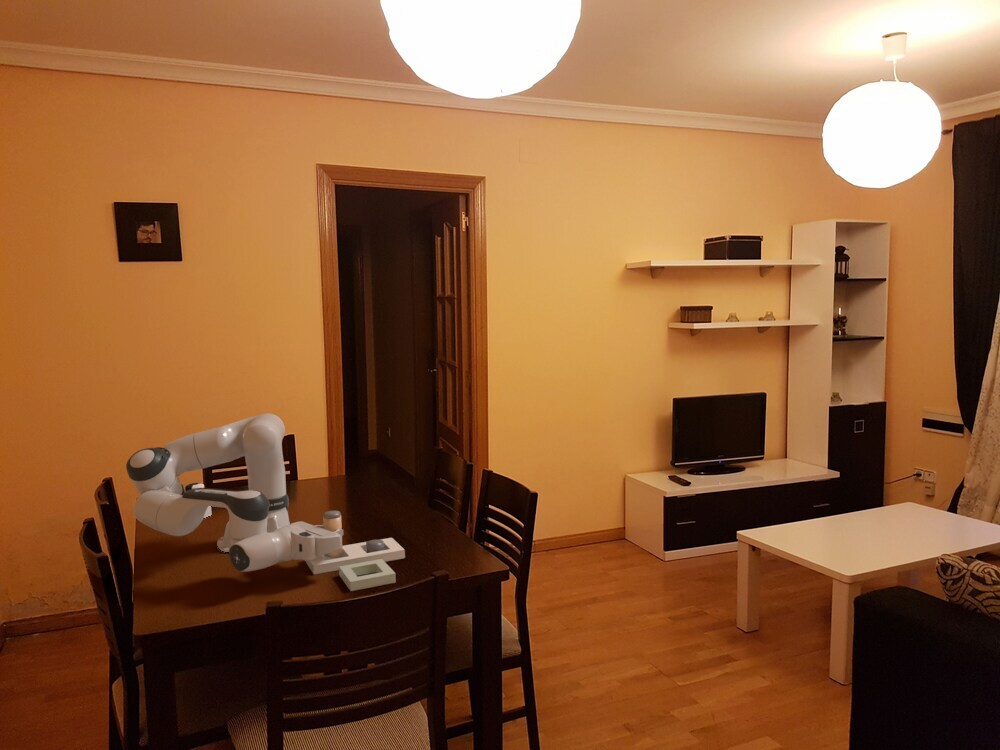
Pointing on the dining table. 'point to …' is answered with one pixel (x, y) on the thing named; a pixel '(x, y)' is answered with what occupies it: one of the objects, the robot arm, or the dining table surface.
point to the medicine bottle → (199, 485)
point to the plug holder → (379, 578)
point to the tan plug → (333, 528)
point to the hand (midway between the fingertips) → (335, 529)
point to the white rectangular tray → (358, 555)
